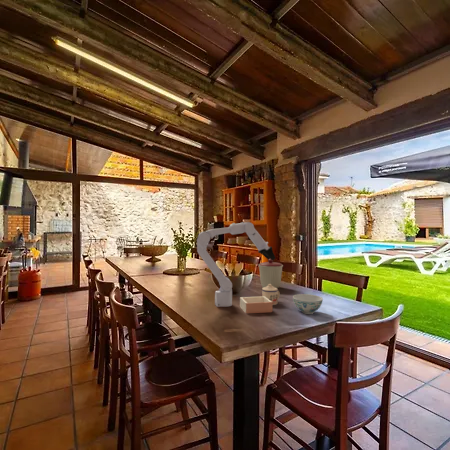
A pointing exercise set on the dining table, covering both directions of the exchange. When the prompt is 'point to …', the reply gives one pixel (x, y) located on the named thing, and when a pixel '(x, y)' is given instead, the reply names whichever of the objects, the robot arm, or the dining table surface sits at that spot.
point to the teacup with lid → (271, 293)
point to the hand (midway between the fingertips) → (271, 258)
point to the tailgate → (259, 307)
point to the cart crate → (252, 301)
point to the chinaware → (307, 303)
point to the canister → (270, 273)
